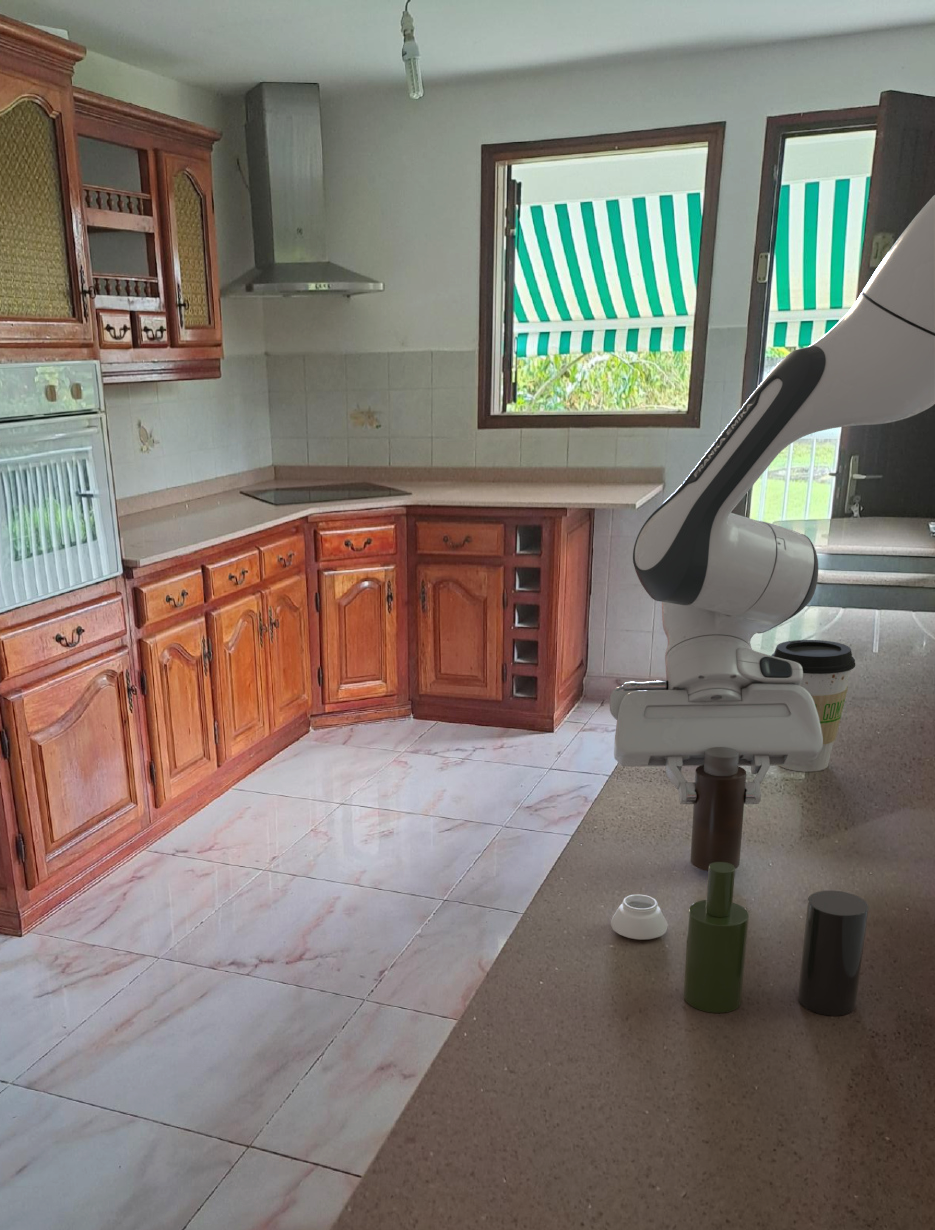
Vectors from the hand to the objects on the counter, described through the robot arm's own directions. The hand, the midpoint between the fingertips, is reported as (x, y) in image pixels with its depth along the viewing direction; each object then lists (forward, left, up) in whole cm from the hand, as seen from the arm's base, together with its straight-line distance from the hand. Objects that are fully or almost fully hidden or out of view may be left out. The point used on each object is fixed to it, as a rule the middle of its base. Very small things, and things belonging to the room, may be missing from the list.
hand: (720, 802), depth 112 cm
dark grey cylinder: (-5, +24, -8) cm, 26 cm away
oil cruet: (+4, +24, -8) cm, 26 cm away
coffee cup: (-16, -33, -8) cm, 37 cm away
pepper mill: (0, -1, -7) cm, 7 cm away
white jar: (+9, +13, -8) cm, 17 cm away
